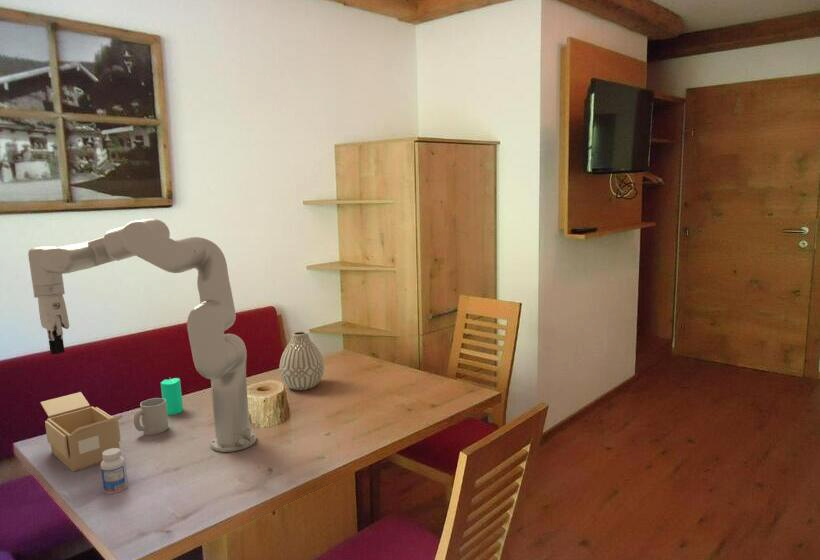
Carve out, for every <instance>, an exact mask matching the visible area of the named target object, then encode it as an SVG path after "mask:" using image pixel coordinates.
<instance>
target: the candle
mask: <svg viewBox="0 0 820 560" xmlns="http://www.w3.org/2000/svg"><path fill="white" fill-rule="evenodd" d="M181 384H182V383H181V379H180V377H174V378H169V379H163V380H162V381H161V382H160V389H161V390H160V391H161V398H163V399H165V400H166V407H167V416H171V415H172V416H174V415H177V414H180V413H182V412H183V411H184V405H183V393H182V386H181Z"/></svg>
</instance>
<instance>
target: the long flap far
mask: <svg viewBox="0 0 820 560" xmlns="http://www.w3.org/2000/svg"><path fill="white" fill-rule="evenodd" d="M40 405H41V407H42V408H43V410H44V412H45V413H46V415H47V416H48V418H52V417H56V416H59V415H63V414H67V413H70V412H74V411H78V410H81V409H85V408H89V407H91V405H90V403H89V402H88V400H87V399H86V397H85V396H84V395H83V393H82V392H81V391H78V392H75V393H71V394H67V395H63V396H58V397H55V398H51V399H47V400H44V401H40Z"/></svg>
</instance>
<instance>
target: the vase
mask: <svg viewBox="0 0 820 560" xmlns="http://www.w3.org/2000/svg"><path fill="white" fill-rule="evenodd" d="M324 362H325V361H324V358H323V356H322V354H321V351H320V350H319V348H318V347H317V346H316V344H315V343H314V342H313V341H312V340H311V338H310V335H309V333H308V332H307V331H304V330H300V331H299V330H298V331H294V332H292V334H291V336H290V340H289V341H288V343H287V345H286V347H285V348H284V350H283V352H282V354H281V357H280V361H279V365H278V366H279V368H278V369H279V370H278V371H279V373H280V378H281V379H282V382H284V384H285V385H286V386H287V387H288V388H290V389H292V390H294V391H307V390H310V389H314V388H315V387H316V386H317V385H318V384H319V382H321V380H322V378H323V375H324V372H325V363H324Z"/></svg>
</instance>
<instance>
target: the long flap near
mask: <svg viewBox="0 0 820 560" xmlns="http://www.w3.org/2000/svg"><path fill="white" fill-rule="evenodd" d="M122 418H124V417H123V414H122V415H118V416H114V417H113V418H110V419H107V420H103V421H100V422H96V423H93V424H89V425H86V426H83V427H79V428H77V429H76V430H75V431H73V432H72V433H71V434H72V435H74V434H77V433H81V432H84V431H87V430H91V429H94V428H98V427H101V426H104V425H108V424H111V423H114V422H116V421H118V422H119V420H120V419H122Z"/></svg>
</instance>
